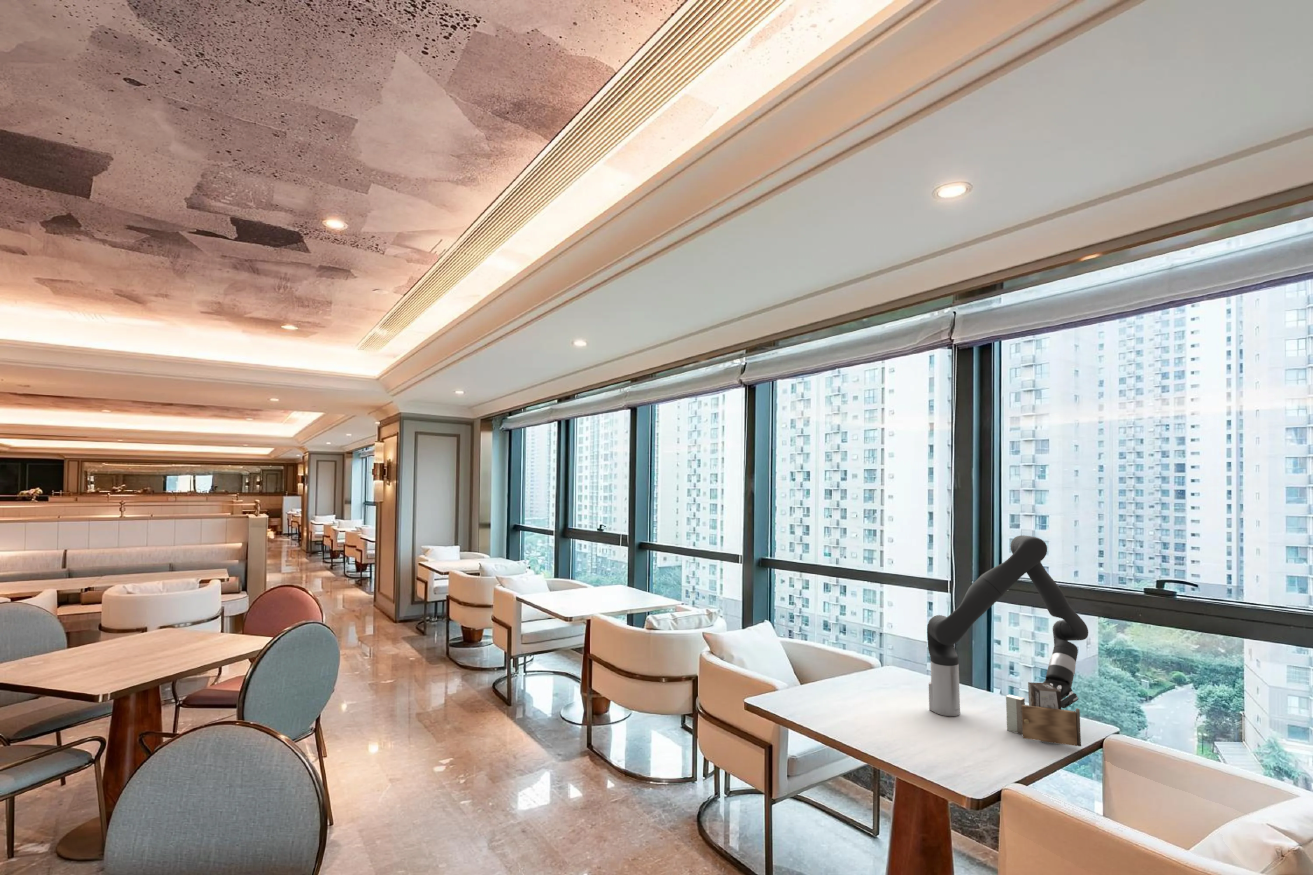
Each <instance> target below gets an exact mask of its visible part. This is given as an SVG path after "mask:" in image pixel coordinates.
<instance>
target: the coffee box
mask: <svg viewBox="0 0 1313 875" xmlns="http://www.w3.org/2000/svg"><path fill="white" fill-rule="evenodd" d="M1027 691H1028V693H1027V694H1028V705H1029V706H1037V707H1045V708H1053V709H1061V710H1062V708H1061V691H1059V690H1058V689H1056V688H1055V687H1053V686H1052V685H1050V684H1049V683H1043V682H1027ZM1040 743H1044V744H1045V743H1046V744H1053V743H1052V742H1045V741H1040ZM1055 744H1057V745H1058V744H1059V743H1055ZM1059 745H1060V744H1059Z"/></svg>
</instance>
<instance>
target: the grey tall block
mask: <svg viewBox="0 0 1313 875" xmlns="http://www.w3.org/2000/svg"><path fill="white" fill-rule="evenodd" d="M1005 700H1006V701H1005V705H1006V731H1009V732H1012V733H1016V734H1018V735H1021V736H1023V728H1022V705H1026V699H1025V697H1022V696H1018V695H1017V696H1016V695H1013V694H1008V695H1006V696H1005Z"/></svg>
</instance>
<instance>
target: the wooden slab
mask: <svg viewBox="0 0 1313 875" xmlns="http://www.w3.org/2000/svg"><path fill="white" fill-rule="evenodd" d="M1080 710H1081V709H1080V708H1077V707H1076V708H1075V711H1074V710H1067V709H1062V708H1061V709H1053V708H1045V707H1037V706H1029V704H1025V705H1022V728H1023V735H1022V739H1024V740H1025V739H1026V740H1033V741H1040V742H1041V741H1045V742H1052V743H1051V744H1056V743H1059V745H1060V744H1061V745H1067V746H1074V747H1082V740H1081V739H1082V736H1081V733H1082V732H1081V714H1080Z"/></svg>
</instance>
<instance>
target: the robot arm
mask: <svg viewBox="0 0 1313 875" xmlns="http://www.w3.org/2000/svg"><path fill="white" fill-rule="evenodd" d="M1010 542H1011V543H1010V552H1011V555H1010V556H1009V557H1008V559H1006V560H1004V561H1003V562H1002V563H1000V564H998V565H996V566H995V567H992V568H991V569H989V570H987V571H985V572H984V573H982V574H981V575H980V576H979V577H977V579H976V580H975V581H974V582H973V583H972V584H971V585H970V586H969V587H968V589H967V590H966V593H965V595H964V597H963V599H962V601H961V603H960V604H959V605H958V607H957V608H956V609H954V611H952V612H951V613H950V614H949V615H947V616H945V615H942V614H941V615H940V614H938V615H933V616H932V617H931V618H930V619H929V621H928V622H927V627H926V628H927V629H926V635H927V637H926V638H927V650H928V654H929V657H930V658H929V660H930V682H929V683H928V708H929V711H932V712H933V713H935V714H937V715H941V716H944V717H945V716H946V717H956V716H957V717H958V716H960V714H961V699H960V697H961V696H960V694H961V693H960V692H961V691H960V670H959V668H960V667H959V666H960V665H959V660H960V659H959V656H958V653H957V651H956V648H955V645H956V644H957V643H958V642H959V641H960V640H961V639H962V638H963V636H965V634H966V633H967V631H968V630H969V629H970V628H971V627H972V626H973V624H974V623H975V622H976V621H977V620H978V619H979V618H981V617H982V615H984V614H986V612H987V611H988V610H989V609H990V608H991V607H992V606H993V605H994V604H996V602H998V600H999V599H1001V597H1003V596H1004V594H1006V593H1007V592H1008V591H1009V590H1010V588H1012V587H1013V585H1014V584H1016V583H1017V582H1018V581H1019V579H1020V578H1021V577H1023V576H1024V575H1025V574H1027V575H1028V577H1029V579H1030V580H1031V582H1032V584H1033V586H1034V587H1035V589H1036V590H1037V593H1038V594H1039V596H1040V599H1041V600H1042V602H1043V603H1044V605H1045V607H1046V609H1047V611H1048V614H1049V615H1051V616H1052V617H1054V618H1059V619H1062V620H1057V621H1055V623H1053V626H1052V635H1053V646H1054V647H1053V650H1052V654H1051V657H1050V659H1049V662H1048V667H1047V670H1046V674H1045V679H1044V681H1043V682H1042V683H1049V684H1050V685H1052V686H1053V687H1055V688H1056V689H1058V690H1059V691H1061V709H1066V708H1068V707H1069V706H1072V704H1074V703H1076V702H1078V701H1079V698H1078V695H1077V693H1075V692H1074V691H1073V689H1072V685H1073V680H1074V677H1075V674H1076V664H1077V663H1076V662H1077V659H1078V654H1079V649H1078V647H1077V645H1076V644H1074V643H1072V642H1071V641H1084V640H1086V639H1087V638H1088V636H1089V629H1088V626H1087V623H1085V621H1084V620H1083V619H1082V618H1081V617H1080V616H1079V614H1078V613H1077V612H1076V611H1075V610H1074V608H1072V606H1070V604H1069V602H1068V599H1067V598H1066V596H1065V594H1064V592H1063V591H1062V589H1061V588H1060V586H1059V585H1058V584H1057V582H1056V581H1055V580H1054V579H1053V578H1052V577H1051V575H1050V574H1049V573H1048V571H1047V570H1046V569H1045V567H1044V566H1043V564H1042V561H1043V560H1044V558H1046V556H1047V553H1048V546H1047V544H1046V541H1044V540H1043V539H1042V538H1039V537H1037V536H1032V535H1024V534H1023V535H1022V534H1021V535H1017V536H1015V537H1014V538H1013V539H1011V541H1010Z"/></svg>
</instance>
